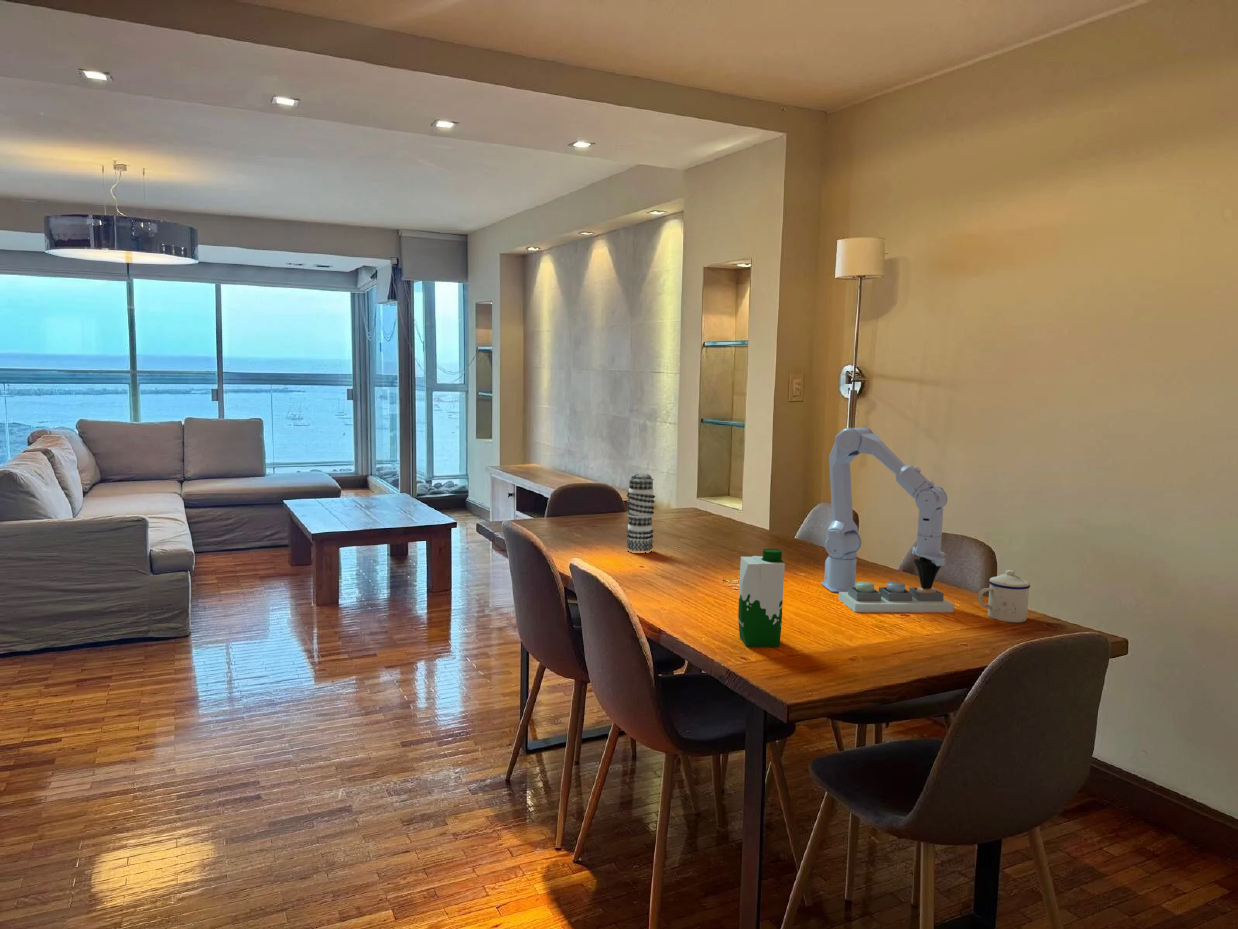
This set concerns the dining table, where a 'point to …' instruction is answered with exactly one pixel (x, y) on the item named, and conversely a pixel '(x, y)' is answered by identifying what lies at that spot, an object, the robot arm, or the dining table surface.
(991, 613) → the teacup with lid
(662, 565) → the dining table surface
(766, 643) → the milk carton
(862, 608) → the button console
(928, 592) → the terracotta button
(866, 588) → the sage button
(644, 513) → the decorative candle
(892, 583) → the dusty blue button
